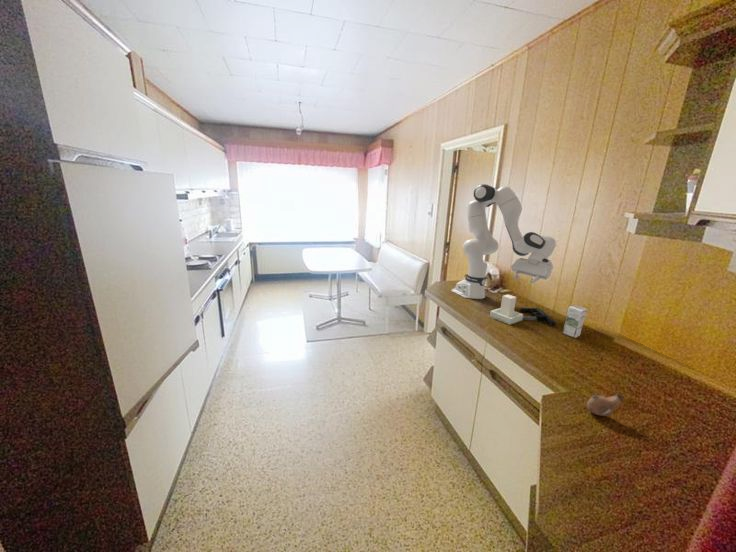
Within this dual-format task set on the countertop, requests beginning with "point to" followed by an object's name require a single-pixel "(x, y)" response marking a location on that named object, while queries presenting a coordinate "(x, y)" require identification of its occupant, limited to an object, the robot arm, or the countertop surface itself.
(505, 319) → the tray
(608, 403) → the oil lamp
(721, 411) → the countertop surface
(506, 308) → the cream block
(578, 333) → the syrup box
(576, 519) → the countertop surface
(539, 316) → the toy submachine gun
